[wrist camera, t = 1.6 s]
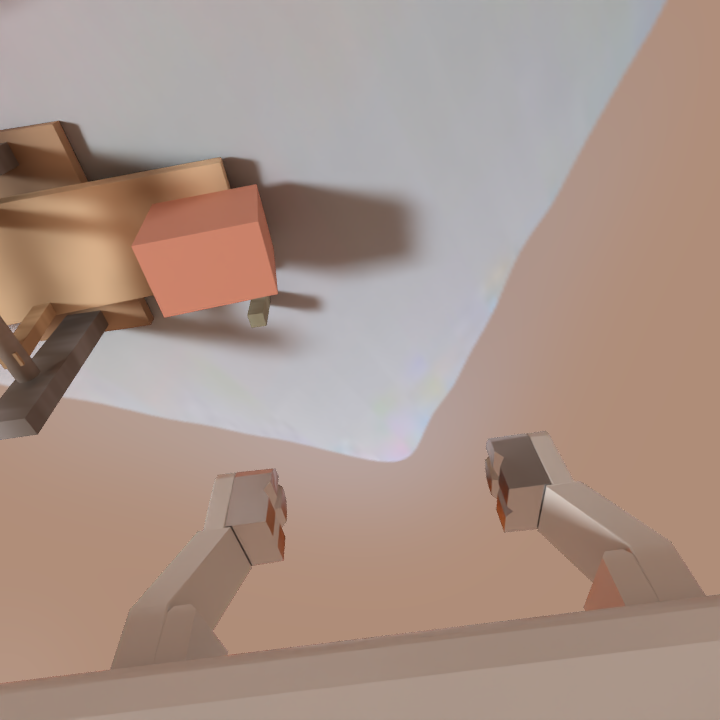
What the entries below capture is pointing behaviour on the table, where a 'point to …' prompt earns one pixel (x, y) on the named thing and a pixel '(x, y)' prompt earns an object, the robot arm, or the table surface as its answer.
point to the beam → (80, 249)
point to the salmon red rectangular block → (207, 251)
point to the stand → (74, 329)
